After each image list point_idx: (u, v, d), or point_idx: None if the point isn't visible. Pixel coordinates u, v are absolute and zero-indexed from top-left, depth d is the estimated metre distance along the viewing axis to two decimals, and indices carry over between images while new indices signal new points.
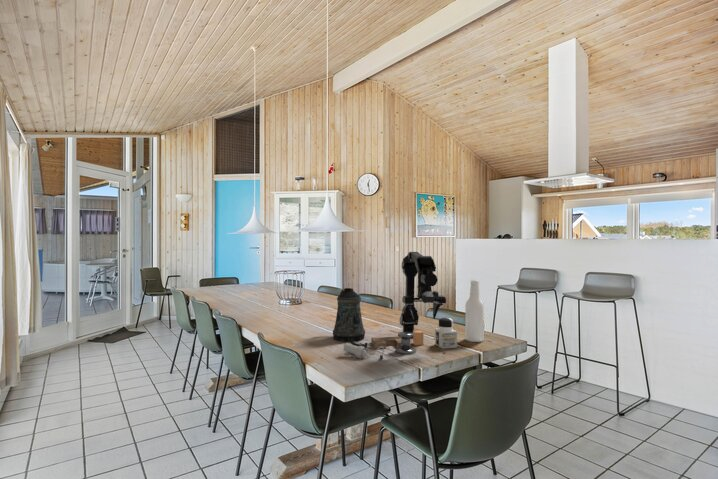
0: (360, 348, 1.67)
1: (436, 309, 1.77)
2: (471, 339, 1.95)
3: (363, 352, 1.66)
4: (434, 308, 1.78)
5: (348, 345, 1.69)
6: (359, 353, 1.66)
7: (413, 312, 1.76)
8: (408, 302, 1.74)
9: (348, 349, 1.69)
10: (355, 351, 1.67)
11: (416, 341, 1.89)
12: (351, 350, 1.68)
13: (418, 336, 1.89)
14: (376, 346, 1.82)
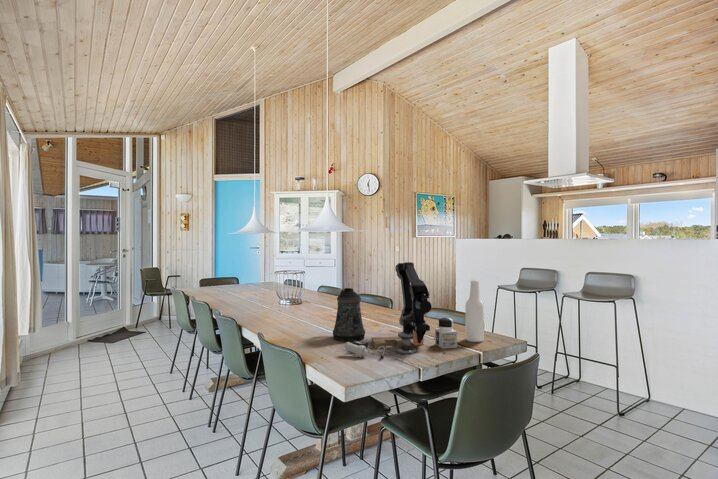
0: (361, 347, 1.68)
1: (417, 334, 1.88)
2: (471, 339, 1.95)
3: (364, 351, 1.67)
4: None
5: (349, 344, 1.70)
6: (360, 352, 1.67)
7: None
8: None
9: (349, 348, 1.70)
10: (356, 350, 1.68)
11: (416, 341, 1.89)
12: (352, 349, 1.69)
13: None
14: (376, 346, 1.82)
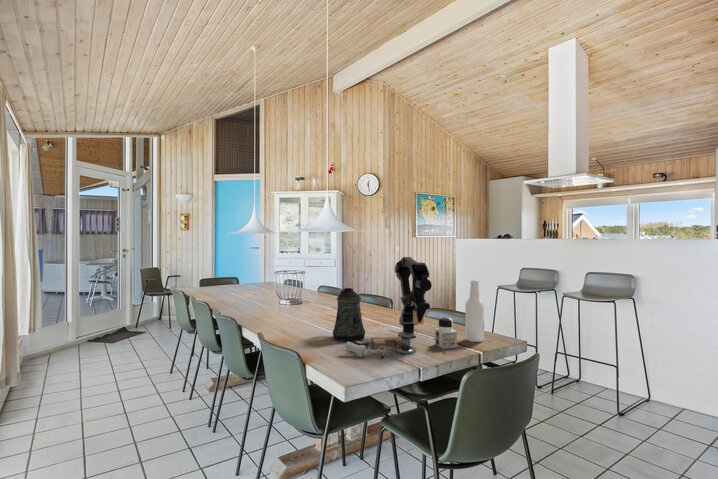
0: (361, 347, 1.68)
1: (417, 313, 1.88)
2: (471, 339, 1.95)
3: (364, 351, 1.68)
4: None
5: (349, 344, 1.71)
6: (360, 352, 1.67)
7: None
8: None
9: (349, 348, 1.70)
10: (356, 350, 1.68)
11: (416, 320, 1.89)
12: (352, 349, 1.69)
13: None
14: (376, 346, 1.82)
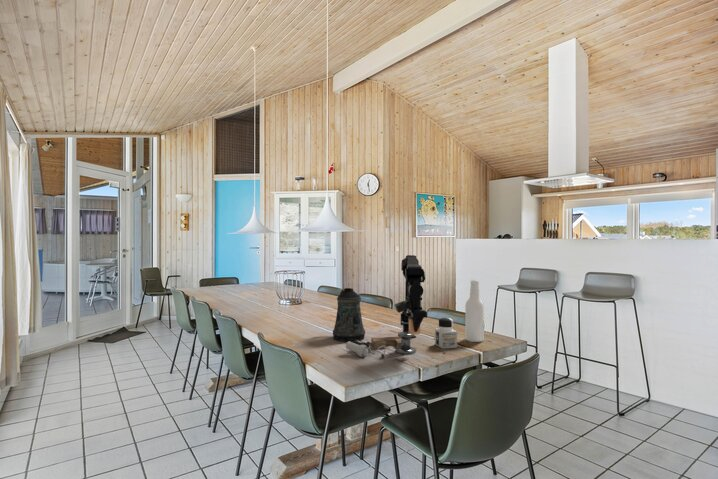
0: (362, 347, 1.69)
1: (413, 322, 1.70)
2: (471, 339, 1.95)
3: (365, 351, 1.68)
4: None
5: (350, 344, 1.72)
6: (361, 352, 1.68)
7: None
8: None
9: (350, 348, 1.71)
10: (357, 350, 1.69)
11: (412, 329, 1.71)
12: (353, 349, 1.70)
13: None
14: (376, 346, 1.82)
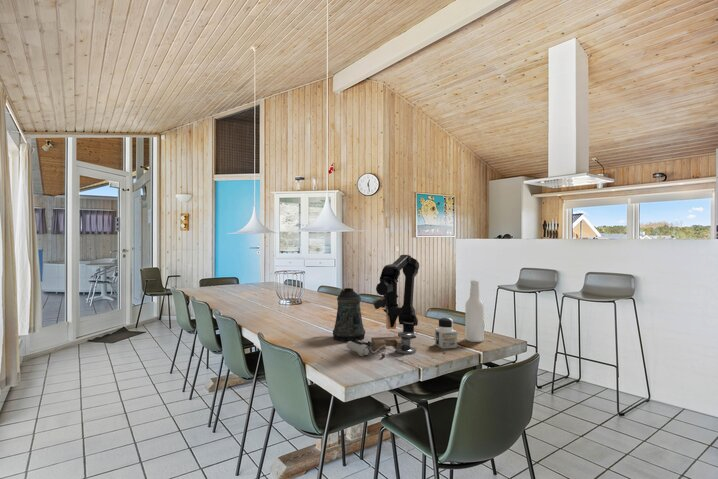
0: (362, 346, 1.69)
1: (389, 317, 1.83)
2: (471, 339, 1.95)
3: (365, 350, 1.69)
4: None
5: (351, 343, 1.72)
6: (361, 351, 1.68)
7: None
8: None
9: (351, 347, 1.72)
10: (357, 349, 1.70)
11: (388, 325, 1.84)
12: (354, 348, 1.71)
13: None
14: (376, 346, 1.82)
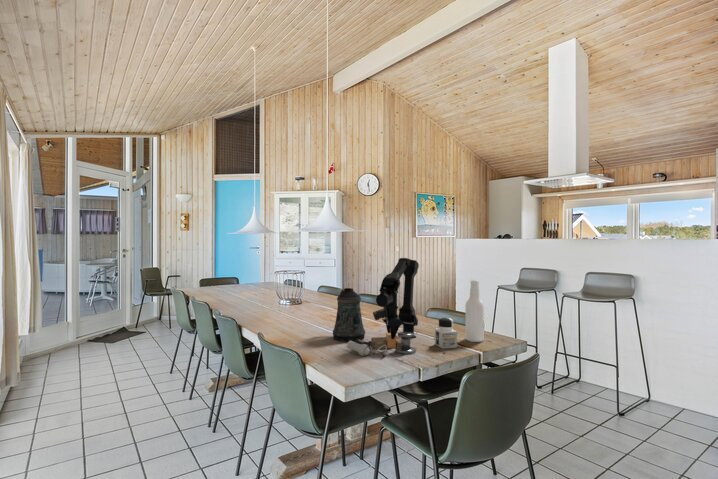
0: (363, 346, 1.70)
1: (390, 329, 1.81)
2: (471, 339, 1.95)
3: (366, 350, 1.69)
4: None
5: (351, 343, 1.73)
6: (362, 351, 1.69)
7: None
8: None
9: (351, 347, 1.72)
10: (358, 349, 1.70)
11: (388, 344, 1.84)
12: (354, 348, 1.71)
13: (390, 339, 1.84)
14: (376, 346, 1.82)
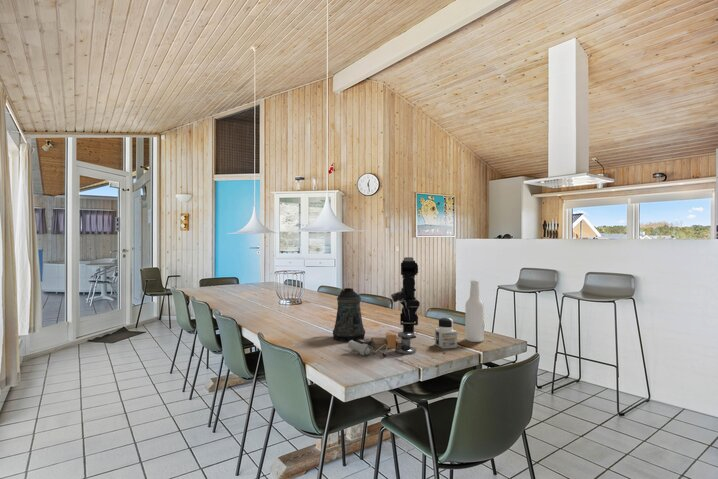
0: (363, 345, 1.71)
1: (408, 311, 1.87)
2: (471, 339, 1.95)
3: (366, 349, 1.70)
4: None
5: (352, 342, 1.74)
6: (362, 350, 1.70)
7: (404, 310, 1.97)
8: (399, 299, 2.00)
9: (352, 346, 1.73)
10: (359, 348, 1.71)
11: (388, 344, 1.84)
12: (355, 347, 1.72)
13: (390, 339, 1.84)
14: (376, 346, 1.82)
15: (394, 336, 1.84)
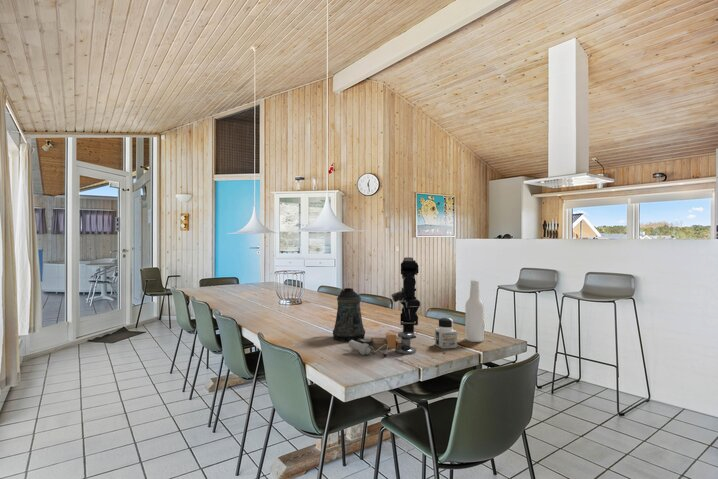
0: (364, 345, 1.71)
1: (409, 311, 1.87)
2: (471, 339, 1.95)
3: (367, 349, 1.71)
4: None
5: (353, 342, 1.74)
6: (363, 350, 1.70)
7: (404, 310, 1.97)
8: (399, 299, 2.00)
9: (353, 346, 1.73)
10: (359, 348, 1.72)
11: (388, 344, 1.84)
12: (355, 347, 1.73)
13: (390, 339, 1.84)
14: (376, 346, 1.82)
15: (394, 336, 1.84)
